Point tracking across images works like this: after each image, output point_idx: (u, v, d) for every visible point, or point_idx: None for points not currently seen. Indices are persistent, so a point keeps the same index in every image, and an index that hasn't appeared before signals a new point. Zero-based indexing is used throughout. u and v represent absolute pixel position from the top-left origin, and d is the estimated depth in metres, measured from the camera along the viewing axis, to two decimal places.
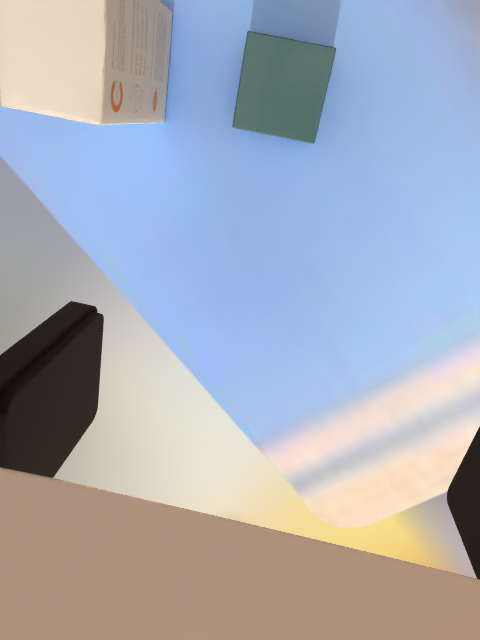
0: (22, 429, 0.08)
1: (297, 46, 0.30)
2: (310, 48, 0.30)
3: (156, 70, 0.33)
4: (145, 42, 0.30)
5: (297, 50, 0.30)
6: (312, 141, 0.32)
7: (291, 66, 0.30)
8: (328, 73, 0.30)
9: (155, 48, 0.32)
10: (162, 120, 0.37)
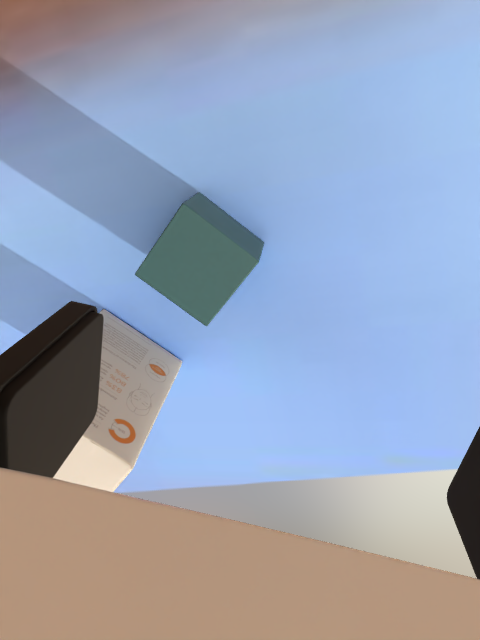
0: (22, 429, 0.08)
1: (165, 237, 0.29)
2: (172, 226, 0.29)
3: (134, 355, 0.34)
4: (104, 364, 0.32)
5: (168, 239, 0.29)
6: (256, 261, 0.29)
7: (179, 250, 0.29)
8: (201, 219, 0.28)
9: (116, 350, 0.34)
10: (179, 364, 0.37)
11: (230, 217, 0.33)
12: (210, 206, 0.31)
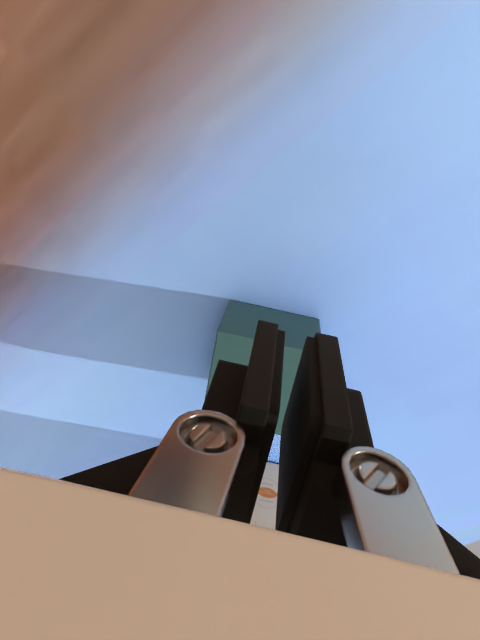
0: None
1: None
2: (217, 357, 0.26)
3: None
4: None
5: None
6: None
7: None
8: (243, 338, 0.25)
9: None
10: None
11: (272, 310, 0.29)
12: (247, 311, 0.28)
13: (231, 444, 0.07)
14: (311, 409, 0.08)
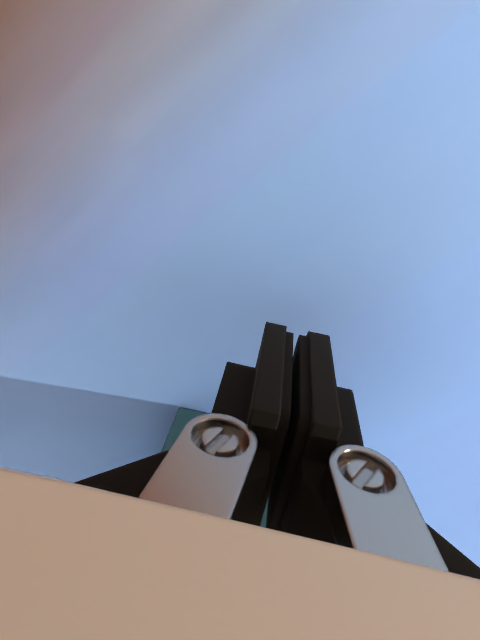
0: None
1: None
2: None
3: None
4: None
5: None
6: None
7: None
8: None
9: None
10: None
11: None
12: None
13: (243, 448, 0.07)
14: (300, 407, 0.08)
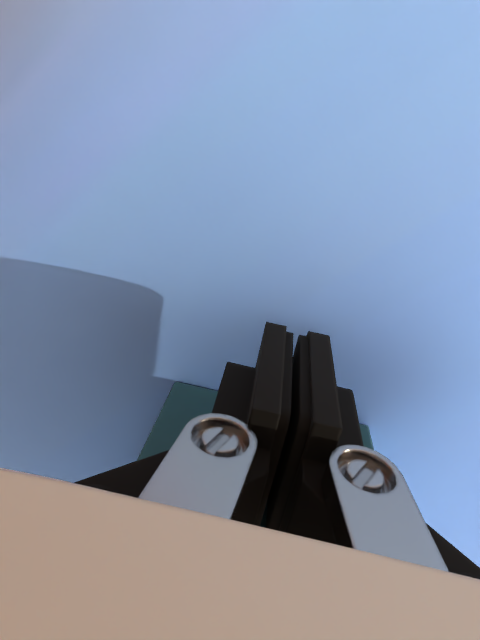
0: None
1: None
2: None
3: None
4: None
5: None
6: None
7: None
8: None
9: None
10: None
11: None
12: None
13: (243, 448, 0.07)
14: (300, 407, 0.08)
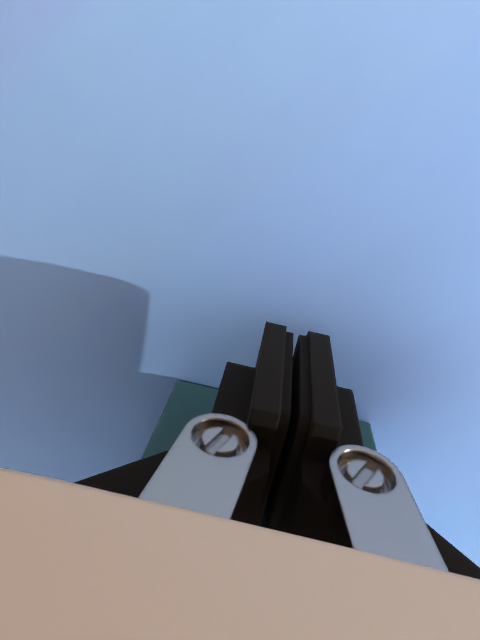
0: None
1: None
2: None
3: None
4: None
5: None
6: None
7: None
8: None
9: None
10: None
11: None
12: None
13: (243, 448, 0.07)
14: (300, 407, 0.08)
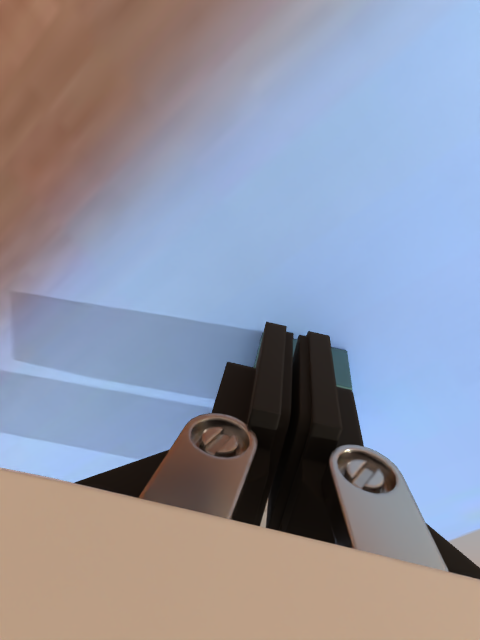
0: None
1: None
2: None
3: None
4: None
5: None
6: None
7: None
8: None
9: None
10: None
11: None
12: None
13: (243, 448, 0.07)
14: (300, 407, 0.08)
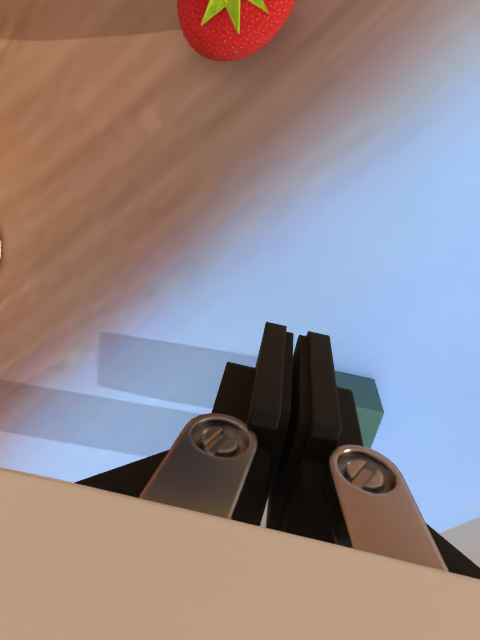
0: None
1: None
2: None
3: None
4: None
5: None
6: (382, 413, 0.35)
7: None
8: None
9: None
10: None
11: (340, 374, 0.39)
12: None
13: (243, 448, 0.07)
14: (300, 407, 0.08)
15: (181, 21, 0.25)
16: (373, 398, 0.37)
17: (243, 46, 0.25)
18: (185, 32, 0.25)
